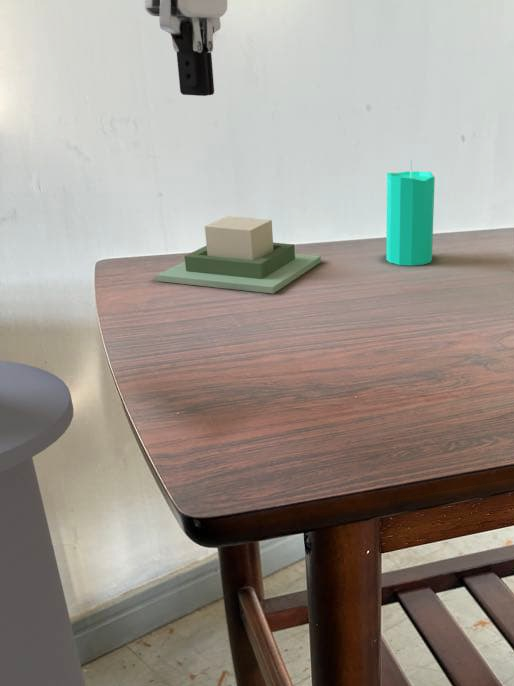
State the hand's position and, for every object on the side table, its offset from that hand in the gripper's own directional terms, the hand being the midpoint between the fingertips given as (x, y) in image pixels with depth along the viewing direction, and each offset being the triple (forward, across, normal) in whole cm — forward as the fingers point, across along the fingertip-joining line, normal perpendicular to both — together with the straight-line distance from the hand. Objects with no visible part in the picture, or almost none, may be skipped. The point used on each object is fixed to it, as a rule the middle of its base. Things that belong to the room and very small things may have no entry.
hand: (197, 94), depth 93 cm
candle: (+20, -18, +19) cm, 33 cm away
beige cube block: (+19, -6, +1) cm, 20 cm away
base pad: (+20, -6, +1) cm, 21 cm away
